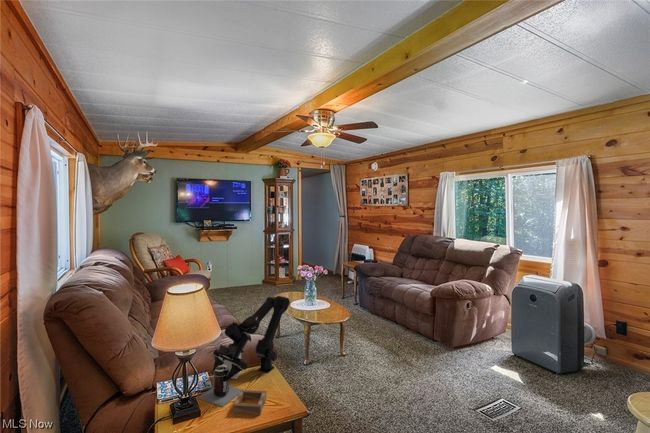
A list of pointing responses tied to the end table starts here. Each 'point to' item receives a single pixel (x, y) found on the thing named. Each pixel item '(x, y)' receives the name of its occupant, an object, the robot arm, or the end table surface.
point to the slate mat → (221, 400)
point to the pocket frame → (249, 408)
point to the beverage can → (220, 381)
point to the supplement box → (229, 365)
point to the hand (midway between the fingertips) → (219, 377)
